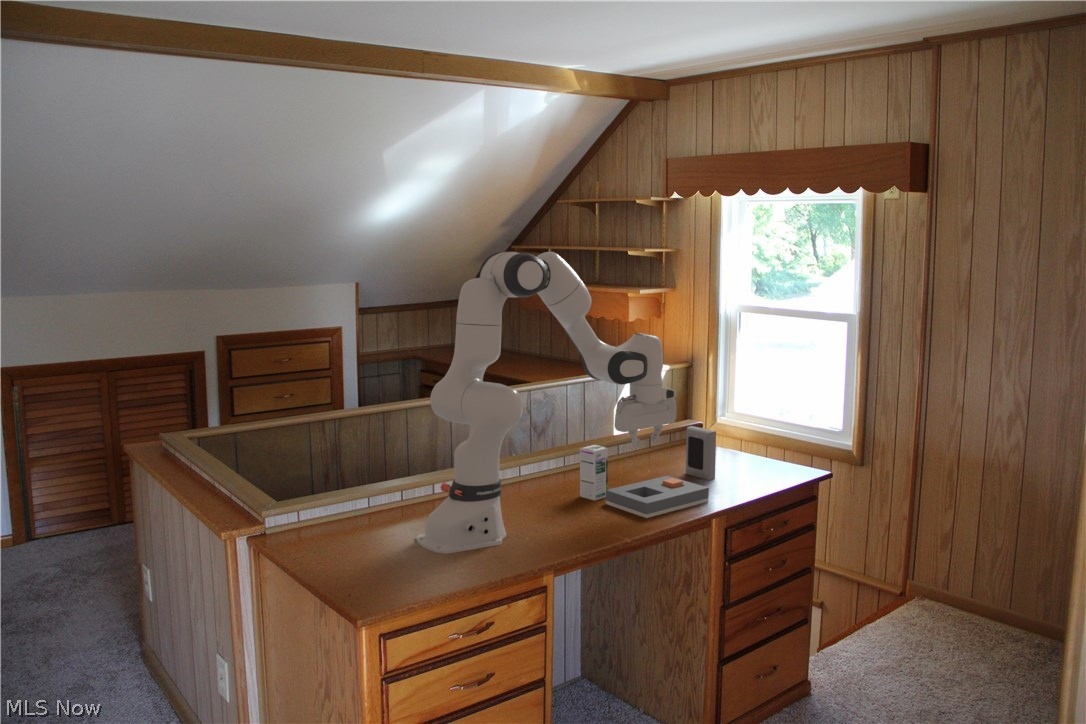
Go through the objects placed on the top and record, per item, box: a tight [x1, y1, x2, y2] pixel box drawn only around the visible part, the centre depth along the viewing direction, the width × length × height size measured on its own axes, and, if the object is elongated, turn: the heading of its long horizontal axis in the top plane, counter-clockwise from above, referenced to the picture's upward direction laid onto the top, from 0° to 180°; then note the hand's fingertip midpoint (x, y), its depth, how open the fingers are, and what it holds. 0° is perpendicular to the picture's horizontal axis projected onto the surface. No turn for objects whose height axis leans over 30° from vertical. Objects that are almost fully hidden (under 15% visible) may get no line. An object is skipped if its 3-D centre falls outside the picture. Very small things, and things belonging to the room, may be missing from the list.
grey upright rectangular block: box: [685, 425, 717, 481], centre depth 279 cm, size 10×4×15 cm, turn 40°
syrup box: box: [579, 444, 609, 501], centre depth 258 cm, size 6×6×14 cm
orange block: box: [663, 477, 683, 488], centre depth 257 cm, size 4×4×2 cm
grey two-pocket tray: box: [605, 475, 710, 519], centre depth 253 cm, size 24×16×4 cm, turn 128°
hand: (645, 443), depth 248 cm, fingers open, 6 cm apart
